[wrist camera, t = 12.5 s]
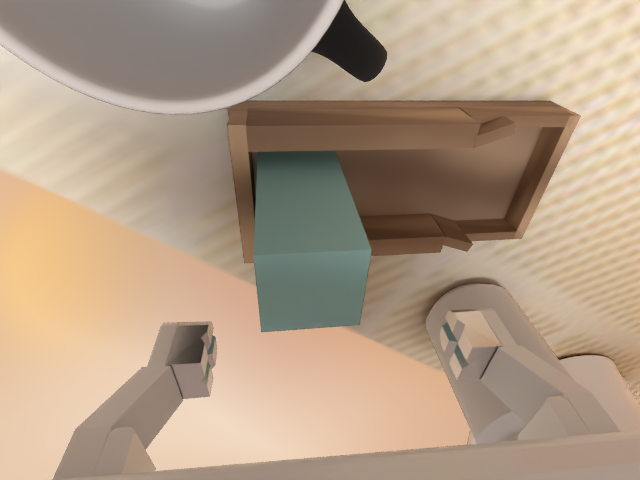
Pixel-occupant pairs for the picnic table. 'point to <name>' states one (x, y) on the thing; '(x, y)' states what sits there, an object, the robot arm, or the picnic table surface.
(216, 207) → the picnic table surface
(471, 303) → the can
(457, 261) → the picnic table surface
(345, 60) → the mug
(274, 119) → the brown wooden tray
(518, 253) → the picnic table surface
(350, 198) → the block
